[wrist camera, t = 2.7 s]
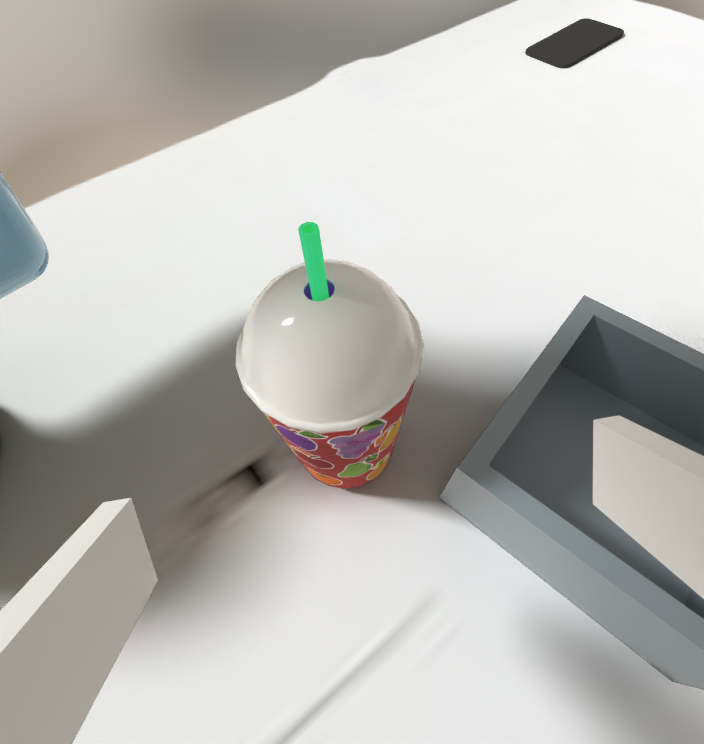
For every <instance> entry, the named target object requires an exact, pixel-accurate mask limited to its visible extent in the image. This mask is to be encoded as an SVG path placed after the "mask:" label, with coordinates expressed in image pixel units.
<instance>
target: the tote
mask: <svg viewBox="0 0 704 744" xmlns="http://www.w3.org/2000/svg"><path fill="white" fill-rule="evenodd" d="M618 415H619V416H622V417H624V418H626V419H628V420H630V421H632V422H634V423H636V424H638V425H640V426H642V427H644V428H646V429H648V430H651V431H653V432H655V433H657V434H659V435H661V436H663V437H665V438H667V439H669V440H671V441H673V442H675V443H677V444H680V445H682V446H684V447H686V448H688V449H690V450H692V451H694V452H696V453H698V454H700V455H702V456H704V354H702V353H700V352H698V351H696V350H694V349H692V348H690V347H688V346H686V345H684V344H682V343H680V342H678V341H676V340H674V339H672V338H670V337H668V336H666V335H664V334H662V333H660V332H658V331H656V330H654V329H652V328H650V327H648V326H646V325H644V324H642V323H639V322H637V321H635V320H633V319H631V318H629V317H627V316H625V315H623V314H621V313H619V312H617V311H615V310H613V309H611V308H609V307H607V306H605V305H603V304H601V303H599V302H597V301H595V300H593V299H591V298H589V297H587V296H585V295H584V296H583V297H582V299H581V300H580V302H579V303H578V304H577V306H576V307H575V308H574V310H573V311H572V312H571V314H570V315H569V316H568V318H567V319H566V321H565V322H564V323H563V325H562V326H561V327H560V329H559V330H558V331H557V333H556V334H555V335H554V337H553V338H552V340H551V341H550V342H549V344H548V345H547V346H546V348H545V349H544V350H543V352H542V353H541V354H540V356H539V357H538V359H537V360H536V361H535V363H534V364H533V365H532V367H531V368H530V369H529V371H528V372H527V373H526V375H525V376H524V378H523V379H522V380H521V382H520V383H519V384H518V386H517V387H516V388H515V390H514V391H513V392H512V394H511V395H510V396H509V398H508V399H507V401H506V402H505V403H504V405H503V406H502V407H501V409H500V410H499V411H498V413H497V414H496V415H495V417H494V418H493V420H492V421H491V422H490V424H489V425H488V426H487V428H486V429H485V430H484V432H483V433H482V434H481V436H480V437H479V439H478V440H477V441H476V443H475V444H474V445H473V447H472V448H471V449H470V451H469V452H468V453H467V455H466V456H465V458H464V459H463V460H462V462H461V463H460V464H459V466H458V467H457V469H456V470H455V472H454V473H453V475H452V477H451V478H450V480H449V482H448V483H447V485H446V486H445V488H444V490H443V491H442V493H441V495H440V496H439V498H440V499H441V500H442V501H444V502H445V503H446V504H448V505H449V506H450V507H451V508H453V509H454V510H455V511H456V512H458V513H459V514H460V515H462V516H463V517H464V518H465V519H467V520H468V521H469V522H470V523H472V524H473V525H474V526H475V527H477V528H478V529H479V530H481V531H482V532H483V533H484V534H486V535H487V536H488V537H489V538H491V539H492V540H493V541H495V542H496V543H497V544H498V545H500V546H501V547H502V548H503V549H505V550H506V551H507V552H508V553H510V554H511V555H512V556H514V557H515V558H516V559H517V560H519V561H520V562H521V563H522V564H524V565H525V566H526V567H528V568H529V569H530V570H531V571H533V572H534V573H535V574H536V575H538V576H539V577H540V578H541V579H543V580H544V581H545V582H547V583H548V584H549V585H550V586H552V587H553V588H554V589H555V590H557V591H558V592H559V593H561V594H562V595H563V596H564V597H566V598H567V599H568V600H569V601H571V602H572V603H573V604H574V605H576V606H577V607H578V608H580V609H581V610H582V611H583V612H585V613H586V614H587V615H588V616H590V617H591V618H592V619H594V620H595V621H596V622H597V623H599V624H600V625H601V626H602V627H604V628H605V629H606V630H607V631H609V632H610V633H611V634H613V635H614V636H615V637H616V638H618V639H619V640H620V641H621V642H623V643H624V644H625V645H627V646H628V647H629V648H630V649H632V650H633V651H634V652H635V653H637V654H638V655H639V656H640V657H642V658H643V659H644V660H646V661H647V662H648V663H649V664H651V665H652V666H653V667H654V668H656V669H657V670H658V671H660V672H661V673H662V674H663V675H665V676H666V677H667V678H668V679H670V680H671V681H673V682H677V683H680V684H684V685H688V686H692V687H696V688H699V689H703V690H704V599H703V598H702V597H701V596H699V595H698V594H697V593H696V592H695V591H694V590H692V589H691V588H690V587H689V586H688V585H687V584H685V583H684V582H683V581H682V580H681V579H680V578H678V577H677V576H676V575H675V574H674V573H673V572H671V571H670V570H669V569H668V568H667V567H666V566H664V565H663V564H662V563H661V562H660V561H659V560H657V559H656V558H655V557H654V556H653V555H652V554H650V553H649V552H648V551H647V550H646V549H645V548H643V547H642V546H641V545H640V544H639V543H638V542H636V541H635V540H634V539H633V538H632V537H631V536H629V535H628V534H627V533H626V532H625V531H624V530H622V529H621V528H620V527H619V526H618V525H617V524H615V523H614V522H613V521H612V520H611V519H610V518H608V517H607V516H606V515H605V514H604V513H603V512H601V511H600V510H599V509H598V508H597V507H596V506H594V505H593V420H595V419H601V418H606V417H612V416H618Z"/></svg>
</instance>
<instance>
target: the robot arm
mask: <svg viewBox="0 0 704 744" xmlns="http://www.w3.org/2000/svg"><path fill="white" fill-rule="evenodd" d="M48 258H49V256H48V249H47V246H46V244H45V242H44V240H43V238H42V237H41V235H40V233H39V231H38V230H37V228H36V227H35V225H34V223H33V222H32V220H31V219H30V217H29V215H28V214H27V212H26V211H25V209H24V208H23V206H22V205H21V203H20V202H19V200H18V198H17V197H16V195H15V194H14V192H13V191H12V189H11V188H10V186H9V185H8V183H7V182H6V180H5V179H4V177H3V176H2V174H1V173H0V299H1V298H3V297H5V296H7V295H8V294H10V293H12V292H14V291H15V290H17V289H19V288H21V287H23V286H24V285H26V284H28V283H30V282H32V281H33V280H35V279H37V278H38V277H39V276H40V275H41V274H42V273H43V272H44V271H45V269H46V267H47V264H48ZM593 505H594V506H596V507H597V508H598V509H599V510H600V511H601V512H603V513H604V514H605V515H606V516H607V517H608V518H610V519H611V520H612V521H613V522H614V523H615V524H617V525H618V526H619V527H620V528H621V529H622V530H624V531H625V532H626V533H627V534H628V535H629V536H631V537H632V538H633V539H634V540H635V541H636V542H638V543H639V544H640V545H641V546H642V547H643V548H645V549H646V550H647V551H648V552H649V553H650V554H652V555H653V556H654V557H655V558H656V559H657V560H659V561H660V562H661V563H662V564H663V565H664V566H666V567H667V568H668V569H669V570H670V571H671V572H673V573H674V574H675V575H676V576H677V577H678V578H680V579H681V580H682V581H683V582H684V583H685V584H687V585H688V586H689V587H690V588H691V589H692V590H694V591H695V592H696V593H697V594H698V595H699V596H701V597H702V598H703V599H704V456H702V455H700V454H698V453H696V452H694V451H692V450H690V449H688V448H686V447H684V446H682V445H680V444H677V443H675V442H673V441H671V440H669V439H667V438H665V437H663V436H661V435H659V434H657V433H655V432H653V431H651V430H648V429H646V428H644V427H642V426H640V425H638V424H636V423H634V422H632V421H630V420H628V419H626V418H624V417H622V416H619V415H618V416H612V417H606V418H601V419H595V420H593ZM157 582H158V578H157V575H156V572H155V569H154V566H153V563H152V560H151V557H150V554H149V551H148V548H147V545H146V541H145V538H144V535H143V532H142V529H141V526H140V523H139V520H138V517H137V514H136V511H135V507H134V504H133V501H132V498H126V499H120V500H114V501H108V502H103V503H102V504H101V505H100V506H99V507H98V508H97V509H96V510H95V511H94V512H93V514H92V515H91V516H90V517H89V518H88V519H87V520H86V521H85V522H84V523H83V524H82V525H81V526H80V527H79V528H78V529H77V530H76V531H75V533H74V534H73V535H72V536H71V537H70V538H69V539H68V540H67V541H66V542H65V543H64V544H63V545H62V546H61V547H60V548H59V549H58V551H57V552H56V553H55V554H54V555H53V556H52V557H51V558H50V559H49V560H48V561H47V562H46V563H45V564H44V565H43V566H42V567H41V569H40V570H39V571H38V572H37V573H36V574H35V575H34V576H33V577H32V578H31V579H30V580H29V581H28V582H27V583H26V584H25V585H24V586H23V588H22V589H21V590H20V591H19V592H18V593H17V594H16V595H15V596H14V597H13V598H12V599H11V600H10V601H9V602H8V603H7V604H6V606H5V607H4V608H3V609H2V610H1V611H0V744H72V743H73V741H74V739H75V737H76V735H77V733H78V731H79V729H80V728H81V726H82V724H83V722H84V720H85V718H86V716H87V714H88V712H89V711H90V709H91V707H92V705H93V703H94V701H95V699H96V697H97V695H98V693H99V692H100V690H101V688H102V686H103V684H104V682H105V680H106V678H107V676H108V675H109V673H110V671H111V669H112V667H113V665H114V663H115V661H116V659H117V657H118V656H119V654H120V652H121V650H122V648H123V646H124V644H125V642H126V640H127V639H128V637H129V635H130V633H131V631H132V629H133V627H134V625H135V623H136V622H137V620H138V618H139V616H140V614H141V612H142V610H143V608H144V606H145V604H146V603H147V601H148V599H149V597H150V595H151V593H152V591H153V589H154V587H155V586H156V584H157Z"/></svg>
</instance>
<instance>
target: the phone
mask: <svg viewBox="0 0 704 744" xmlns="http://www.w3.org/2000/svg"><path fill="white" fill-rule="evenodd" d="M623 33H624V31H623V30H622V29H620V28H617V27H614V26H611V25H608V24H604V23H601V22H598V21H595V20H592V19H581V20H579V21H577V22H575V23H573V24H571V25H569V26H567V27H566V28H564V29H562V30H560V31H558V32H556V33H554V34H552V35H551V36H549V37H547V38H545V39H543V40H541V41H539V42H538V43H536V44H534V45H532V46H530V47H528V48H527V49H526V52H525V53H526V55H528V56H530V57H533V58H535V59H538V60H540V61H543V62H545V63H548V64H550V65H553V66H555V67H558V68H568V67H570V66H572V65H574V64H576V63H577V62H579V61H581V60H583V59H584V58H586V57H588V56H590V55H591V54H593V53H595V52H597V51H598V50H600V49H602V48H604V47H606V46H607V45H609V44H611V43H612V42H614V41H616V40H618V39H619V38H621V37H622V35H623Z"/></svg>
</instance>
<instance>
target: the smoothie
mask: <svg viewBox="0 0 704 744" xmlns="http://www.w3.org/2000/svg"><path fill="white" fill-rule="evenodd" d="M298 230H299V235H300V240H301V245H302V250H303V255H304V260H305V263H303V264H300V265H297V266H294V267H292V268H290V269H288V270H287V271H285V272H284V273H282V274H281V275H279V276H277V277H276V278H274V279H273V280H272V281H271V282H270V283H269V284H268V285H267V286H266V287H265V288H264V290H263V291H262V292H261V293H260V294H259V295H258V297H257V298H256V300H255V301H254V303H253V306H252V308H251V310H250V312H249V315H248V317H247V319H246V322H245V324H244V327H243V329H242V331H241V333H240V336H239V338H238V340H237V349H236V369H237V372H238V375H239V378H240V381H241V384H242V387H243V390H244V391H245V392H246V394H247V395H248V396H249V397H250V398H251V399H252V401H253V402H254V403H255V404H256V405H257V407H258V408H259V409H260V410H261V411H262V412H263V413H264V415H265V416H266V417H267V419H268V420H269V421H270V423H271V424H272V425H273V426H274V428H275V429H276V430H277V432H278V433H279V434H280V435H281V437H282V438H283V439H284V441H285V442H286V443H287V444H288V446H289V447H290V448H291V450H292V451H293V452H294V453H295V455H296V456H297V457H298V459H299V460H300V461H301V463H302V464H303V465H304V466H305V468H306V469H307V470H308V471H309V472H310V473H311V475H312V476H313V477H314V478H315V479H317V480H319V481H321V482H323V483H324V484H326V485H328V486H333V487H339V488H350V487H357V486H361V485H363V484H365V483H367V482H369V481H371V480H373V479H374V478H375V477H376V476H377V475H378V474H379V473H381V472H382V471H383V470H384V469H385V467H386V465H387V463H388V461H389V459H390V457H391V455H392V452H393V448H394V445H395V442H396V439H397V436H398V433H399V429H400V426H401V423H402V420H403V417H404V414H405V410H406V407H407V404H408V401H409V398H410V395H411V391H412V388H413V385H414V382H415V378H416V377H417V375H418V373H419V371H420V365H421V359H422V353H423V347H424V345H423V341H422V336H421V332H420V328H419V323H418V321H417V319H416V318H415V316H414V315H413V313H412V312H411V310H410V309H409V307H408V306H407V304H406V303H405V301H404V300H402V299H401V298H400V297H398V296H397V295H396V293H395V292H394V290H393V289H392V287H391V286H389V285H388V284H387V283H385V282H384V281H383V280H382V279H380V278H379V277H378V276H376V275H375V274H374V273H372V272H371V271H370V270H368V269H365V268H363V267H360V266H358V265H355V264H353V263H350V262H346V261H338V260H330V259H326V260H324V259H323V253H322V246H321V240H320V233H319V228H318V225H317V224H315V223H313V222H306V223H304V224H302V225H301V226H300V227H299V229H298Z"/></svg>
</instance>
